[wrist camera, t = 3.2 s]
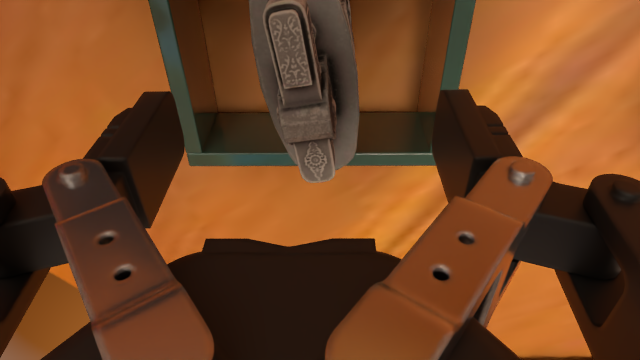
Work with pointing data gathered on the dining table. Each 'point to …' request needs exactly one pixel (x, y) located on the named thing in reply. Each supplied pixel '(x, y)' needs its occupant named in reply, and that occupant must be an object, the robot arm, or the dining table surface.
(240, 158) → the frame
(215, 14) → the dining table surface
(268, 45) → the lighter
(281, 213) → the dining table surface
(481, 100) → the dining table surface
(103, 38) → the dining table surface
